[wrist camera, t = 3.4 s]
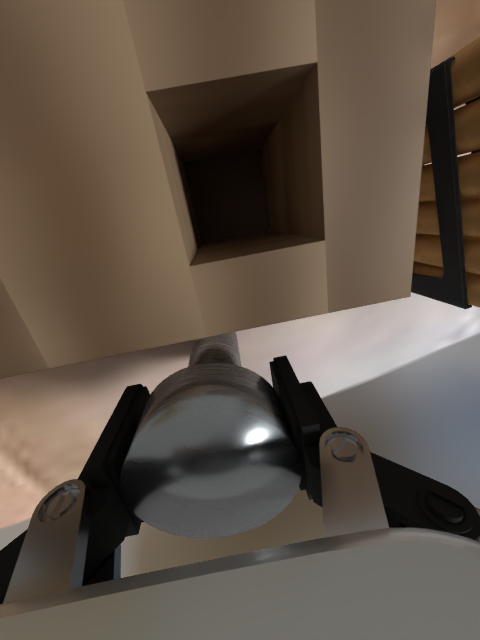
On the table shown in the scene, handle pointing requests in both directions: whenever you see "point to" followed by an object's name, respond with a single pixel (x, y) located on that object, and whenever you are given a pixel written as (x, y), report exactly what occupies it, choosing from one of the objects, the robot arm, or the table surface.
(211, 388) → the pin
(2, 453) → the table surface
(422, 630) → the robot arm
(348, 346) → the table surface
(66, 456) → the table surface
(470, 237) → the ammunition clip
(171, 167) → the block
